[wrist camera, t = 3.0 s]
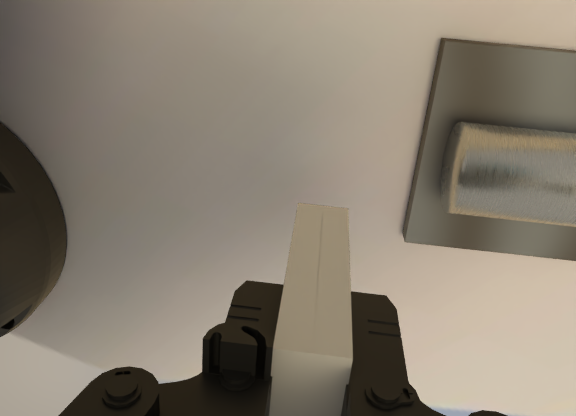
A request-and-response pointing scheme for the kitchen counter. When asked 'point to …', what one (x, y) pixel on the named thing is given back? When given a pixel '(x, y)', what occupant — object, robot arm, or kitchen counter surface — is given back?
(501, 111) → the board
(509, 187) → the tube
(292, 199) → the kitchen counter surface
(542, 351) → the kitchen counter surface
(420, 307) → the kitchen counter surface
